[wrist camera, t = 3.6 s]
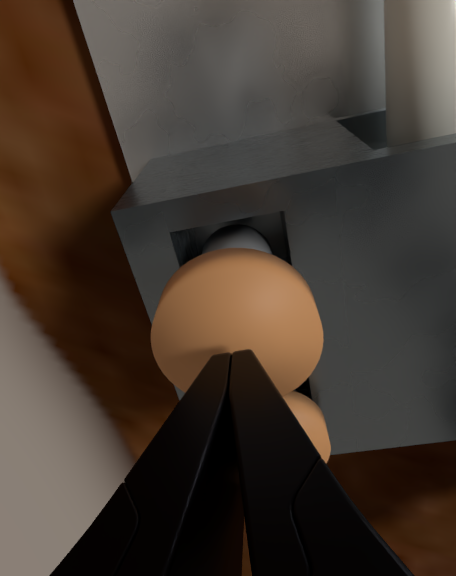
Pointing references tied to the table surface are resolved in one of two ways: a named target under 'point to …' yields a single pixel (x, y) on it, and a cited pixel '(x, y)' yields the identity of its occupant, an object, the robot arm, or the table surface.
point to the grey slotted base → (292, 188)
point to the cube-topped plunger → (420, 69)
